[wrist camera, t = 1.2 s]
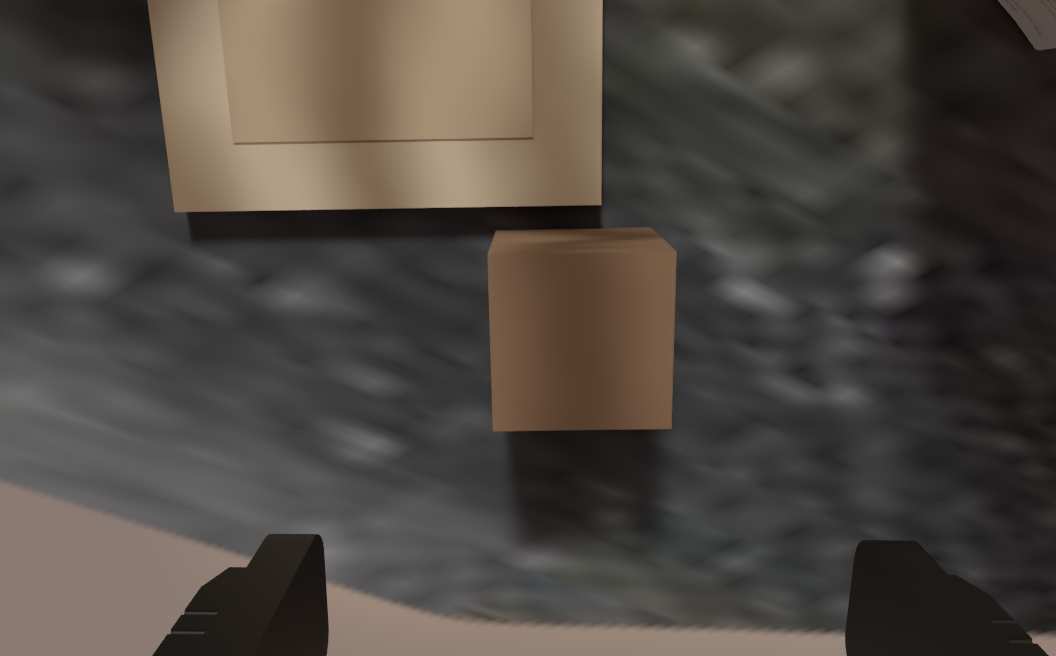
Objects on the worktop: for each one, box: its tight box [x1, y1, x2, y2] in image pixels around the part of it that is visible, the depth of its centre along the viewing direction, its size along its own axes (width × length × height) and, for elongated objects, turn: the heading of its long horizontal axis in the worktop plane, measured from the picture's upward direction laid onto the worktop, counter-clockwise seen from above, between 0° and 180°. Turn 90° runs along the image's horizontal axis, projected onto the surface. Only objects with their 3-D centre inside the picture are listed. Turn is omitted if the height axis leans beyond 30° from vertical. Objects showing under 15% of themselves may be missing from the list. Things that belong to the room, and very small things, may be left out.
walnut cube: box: [487, 227, 677, 431], centre depth 29 cm, size 6×6×6 cm
